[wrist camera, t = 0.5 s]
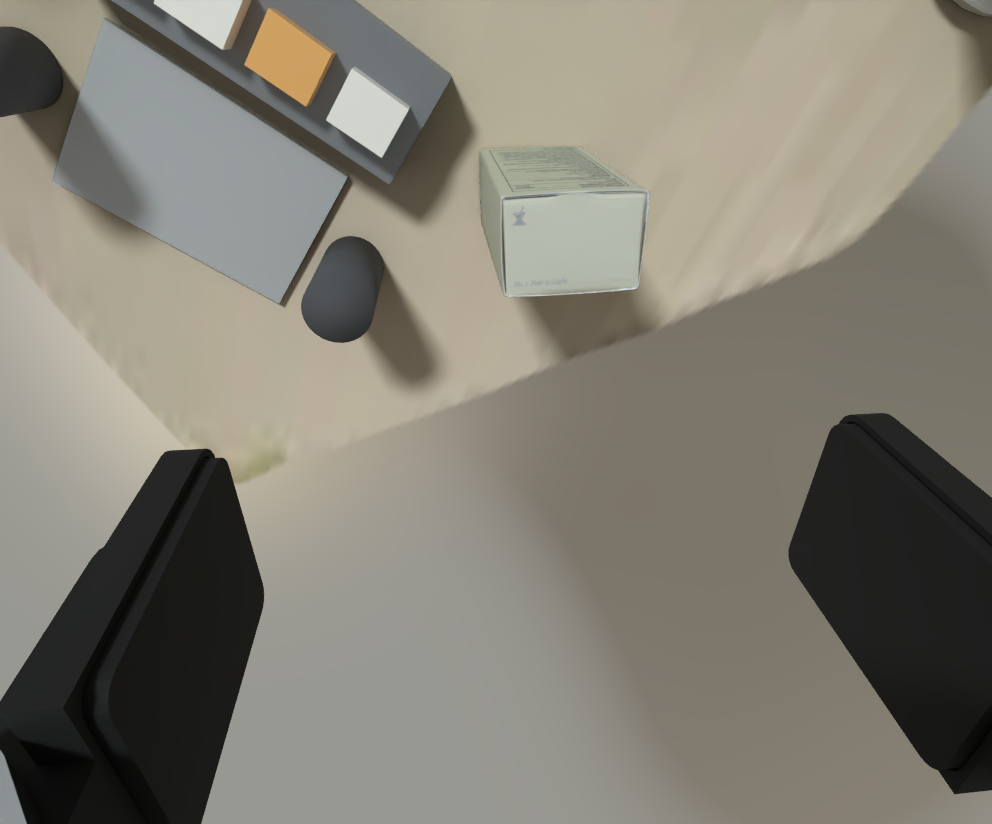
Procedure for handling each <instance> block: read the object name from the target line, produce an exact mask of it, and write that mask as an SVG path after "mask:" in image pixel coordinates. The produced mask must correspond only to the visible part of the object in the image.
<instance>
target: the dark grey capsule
mask: <svg viewBox="0 0 992 824" xmlns="http://www.w3.org/2000/svg"><path fill="white" fill-rule="evenodd" d="M383 270H384V266H383V260H382V257H381V255H380V253H379V251H378V250H377V249H376V248H375V246H373V245H372V244H371V243H370V242H368V241H366V240H365V239H362V238H359V237H353V236H348V237H343V238H340V239H337V240H336V241H334V242H333V243H332V244H331V245H330V246H329V247H328V249H327V250H326V252H325V254H324V256H323V258H322V260H321V262H320V264H319V266H318V268H317V270H316V272H315V274H314V276H313V278H312V280H311V282H310V284H309V285H308V287H307V289H306V291H305V293H304V296H303V298H302V304H301V310H302V315H303V318H304V320H305V322H306V324H307V325H308V327H309V328H310V329H311V330H312V331H313V332H314V333H315V334H317V335H318V336H320V337H321V338H323V339H325V340H328V341H332V342H339V343H344V342H350V341H353V340H356V339H358V338H359V337H361V336H362V335H363V334H364V333H365V332H366V331H367V330H368V329H369V327H370V325H371V322H372V319H373V314H374V310H375V306H376V302H377V297H378V293H379V289H380V284H381V280H382V276H383Z"/></svg>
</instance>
